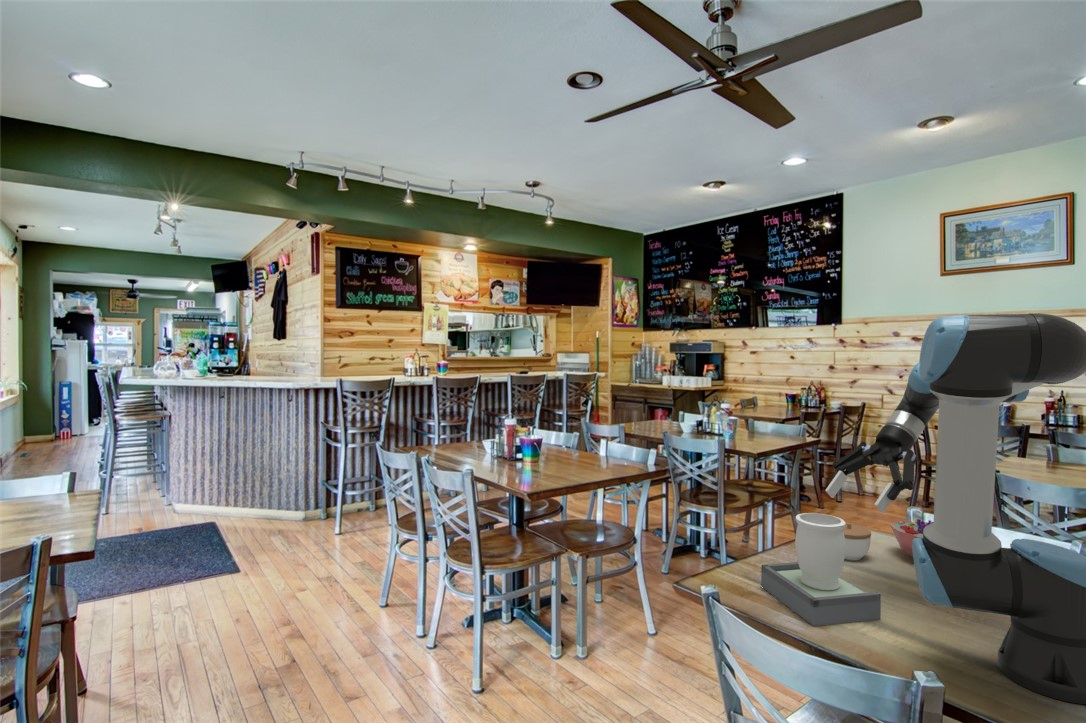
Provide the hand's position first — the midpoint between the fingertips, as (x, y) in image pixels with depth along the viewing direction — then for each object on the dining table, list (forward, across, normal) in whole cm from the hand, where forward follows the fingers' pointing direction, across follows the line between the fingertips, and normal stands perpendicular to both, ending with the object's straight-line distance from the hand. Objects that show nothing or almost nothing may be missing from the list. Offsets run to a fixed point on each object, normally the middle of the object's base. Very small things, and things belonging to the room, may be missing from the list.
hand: (852, 501), depth 135 cm
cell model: (-11, +8, -43) cm, 46 cm away
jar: (+20, 0, -6) cm, 21 cm away
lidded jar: (+2, +19, -30) cm, 36 cm away
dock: (+23, 0, -8) cm, 25 cm away
